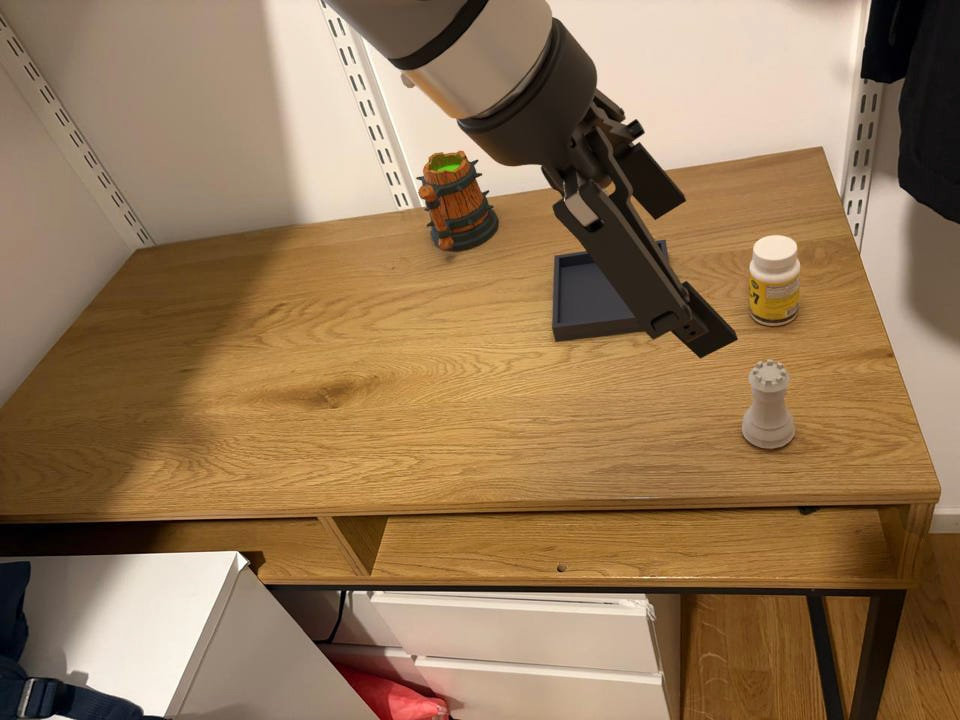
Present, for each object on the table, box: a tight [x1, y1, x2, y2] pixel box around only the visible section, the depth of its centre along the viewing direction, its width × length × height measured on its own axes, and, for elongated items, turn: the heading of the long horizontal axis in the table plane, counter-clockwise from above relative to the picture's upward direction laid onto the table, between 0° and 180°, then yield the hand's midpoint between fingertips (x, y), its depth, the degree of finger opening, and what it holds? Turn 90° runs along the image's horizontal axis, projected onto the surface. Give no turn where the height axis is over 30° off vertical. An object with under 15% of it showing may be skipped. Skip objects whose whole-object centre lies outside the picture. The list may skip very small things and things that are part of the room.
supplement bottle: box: [748, 234, 801, 327], centre depth 74 cm, size 5×5×8 cm
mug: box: [415, 150, 500, 252], centre depth 98 cm, size 13×10×12 cm
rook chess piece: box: [741, 358, 796, 450], centre depth 64 cm, size 4×4×8 cm
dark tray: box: [551, 239, 670, 342], centre depth 85 cm, size 13×13×2 cm
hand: (691, 271), depth 53 cm, fingers open, 13 cm apart
